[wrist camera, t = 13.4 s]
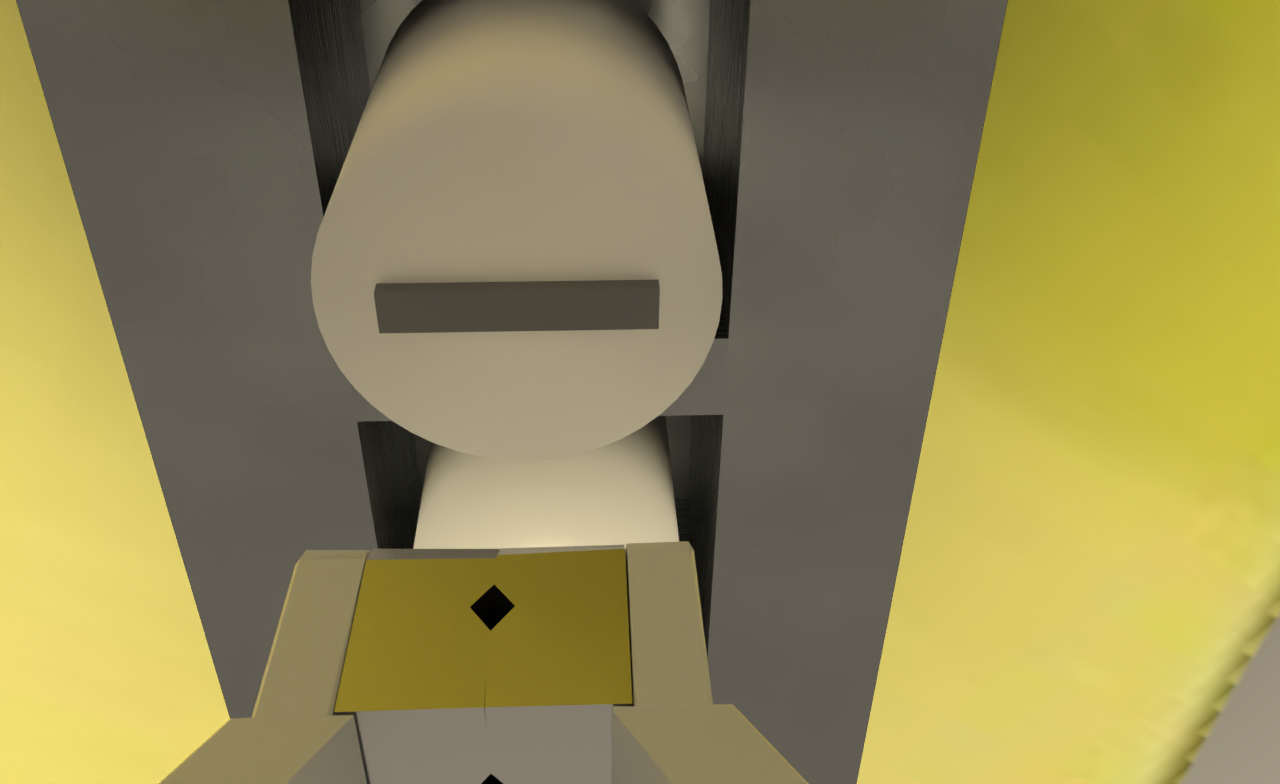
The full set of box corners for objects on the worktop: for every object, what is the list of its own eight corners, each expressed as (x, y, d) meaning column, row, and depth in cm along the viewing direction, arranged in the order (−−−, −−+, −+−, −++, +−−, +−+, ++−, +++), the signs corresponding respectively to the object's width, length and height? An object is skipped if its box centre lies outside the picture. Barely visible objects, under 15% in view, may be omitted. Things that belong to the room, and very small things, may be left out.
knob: (357, -39, 15) (274, 117, 11) (692, -40, 15) (736, 113, 11) (393, 257, 18) (339, 475, 14) (682, 253, 18) (715, 467, 14)
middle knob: (427, 312, 21) (392, 497, 17) (666, 308, 22) (688, 491, 17) (448, 494, 24) (421, 694, 20) (661, 489, 24) (680, 686, 20)
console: (339, 718, 31) (295, 937, 26) (125, -282, 17) (-50, -219, 13) (790, 705, 31) (830, 916, 26) (920, -277, 18) (1049, -214, 13)
